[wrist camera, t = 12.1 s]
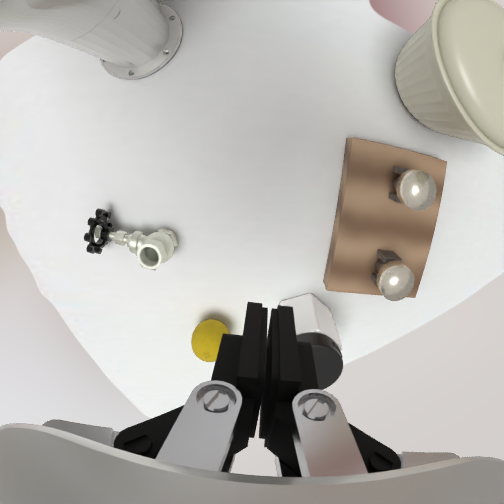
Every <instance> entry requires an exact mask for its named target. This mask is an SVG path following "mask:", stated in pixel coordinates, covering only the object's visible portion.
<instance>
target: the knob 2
mask: <svg viewBox="0 0 504 504" xmlns="http://www.w3.org/2000/svg"><path fill="white" fill-rule="evenodd" d="M375 267H376V270H377V271H378V274H377V278H376V283H377V286H378V288H379V289H380V291H381V292H382V294H383V295H384V297H385V298H387V299H388V300H391V301H398V300H401V299H403V298H405V297H406V296H407V295H408V294H409V293H410V292H411V290H412V289H413V286H414V280H415V279H414V275H413V273H412V271H411V270H410V269H409V268H408V267H407V266H406V265H405V264H404V263H402V262H401V261H390V262H388V263H386V264H385V263H383V262H382V261H381V259H379V260H378V261H377V262H376V265H375Z"/></svg>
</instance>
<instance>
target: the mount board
mask: <svg viewBox="0 0 504 504" xmlns="http://www.w3.org/2000/svg"><path fill="white" fill-rule="evenodd" d="M446 165H447V161H444V160H441V159H437V158H434V157H431V156H427V155H424V154H420V153H416V152H413V151H409V150H405V149H401V148H397V147H393V146H389V145H385V144H381V143H376V142H372V141H367V140H362V139H358V138H346V147H345V155H344V163H343V170H342V177H341V184H340V191H339V198H338V204H337V210H336V216H335V222H334V228H333V234H332V239H331V245H330V250H329V255H328V260H327V265H326V270H325V275H324V280H323V282H324V284H325V287H326V290H327V291H337V292H348V293H359V294H371V295H383V294H382V292H381V291H380V289H379V288H378V286H377V283H376V278H377V274H378V271H377V270H376V267H375V265H376V262H377V261H378V260H379V259H381V261H382V262H383V263H385V264H386V263H388V262H390V261H401V262H402V263H404V264H405V265H406V266H407V267H408V268H409V269H410V270H411V271H412V273H413V275H414V279H415V280H414V286H413V289H412V290H411V292H410V293H409V294H408V295H407V296H406V297H411V298H415V297H416V294H417V291H418V287H419V284H420V281H421V278H422V275H423V271H424V268H425V264H426V261H427V257H428V254H429V250H430V246H431V242H432V238H433V234H434V230H435V225H436V221H437V216H438V212H439V207H440V202H441V196H442V191H443V185H444V179H445V172H446ZM410 169H414V170H419V171H424V172H426V173H428V174H429V175H430V176H431V177H432V178H433V179H434V181H435V184H436V190H437V192H436V198H435V200H434V202H433V204H432V205H431V206H430V207H429V208H428V209H426V210H424V211H416V210H413V209H411V208H409V207H407V206H405V205H404V204H402V203H401V202H400V200H399V198H398V196H397V193H396V190H394V188H393V186H392V181H393V179H394V178H395V177H396V176H400V175H401V174H402V173H403V172H405V171H407V170H410Z"/></svg>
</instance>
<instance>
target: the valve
mask: <svg viewBox="0 0 504 504" xmlns="http://www.w3.org/2000/svg"><path fill="white" fill-rule="evenodd" d="M107 217H108V218H110V217H111V213H110V212H107V211H105V210H103V209H97V210H96V218H89V220H88V225H89V226H90V230H89V233H86V234H85V235H84V240H85V241H87V242H89V245H88V246H87V252H89V253H92V254H93V253H98V254H101V252H102V249H101V248H103V247H104V246H105V245H106V244H108V242H110V241H111V240H112V239H113V240H114V241H115V243H116V244H119V245H122V246H124V245H125V244H127V246H128V247H129V249H130V252H133V253H136V256H137V259H138V261H139V263H140V265H141V267H144V268H147V269H150V270H156V269H157V267H158V266H159V265H160V264H162V263H165V262H166V261H168V260H169V259H170V258H171V256H172V254H173V251H174V248H175V247H176V246H177V245H178V242H177V239H176V236H175V233H174V231H171V230H167V229H163V228H161V229H159V230H158V231H157V232H154V233H152V234H150V235H148V236H145V235H144V233H143V232H140V231H135V232H134V233H133V234H130V235H129V236H128V233H127V232H124V231H120V230H119V231H117V232H116V233H115V232H114V229H113V228H112V224H111V223H108V222H107ZM97 225H99V226H97ZM96 226H97V227H96ZM95 228H96V229H95ZM94 232H95V237H96V238H99V240H98V241H97V242H96V243H95V241H94ZM93 248H94V249H93Z"/></svg>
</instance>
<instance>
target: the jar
mask: <svg viewBox="0 0 504 504" xmlns="http://www.w3.org/2000/svg"><path fill="white" fill-rule="evenodd" d="M280 305H281V306H291V307H293V312H294V320H295V329H296V338H297V341H303V342H310V343H311V345H312V351H313V357H314V363H315V369H316V375H317V381H318V387H319V390H323V389H325V388H327V387H329V386H330V385H332V384H333V383H334V382H335V381H336V380H337V379H338V378H339V376H340V375H341V372H342V369H343V360H342V354H341V350H342V345H341V341H340V338H339V335H338V332H337V329H336V326H335V322H334V319H333V316H332V313H331V311H330V310H329V309H328V308H327V307H326V306H325V305H324V304H323V303H321V302H320V301H319V300H318V299H317V298H316V297H314V296H313V295H312V294H311V293H309V294H306V295H302V296H298V297H295V298H291V299H288V300H284V301H281V302H280Z"/></svg>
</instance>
